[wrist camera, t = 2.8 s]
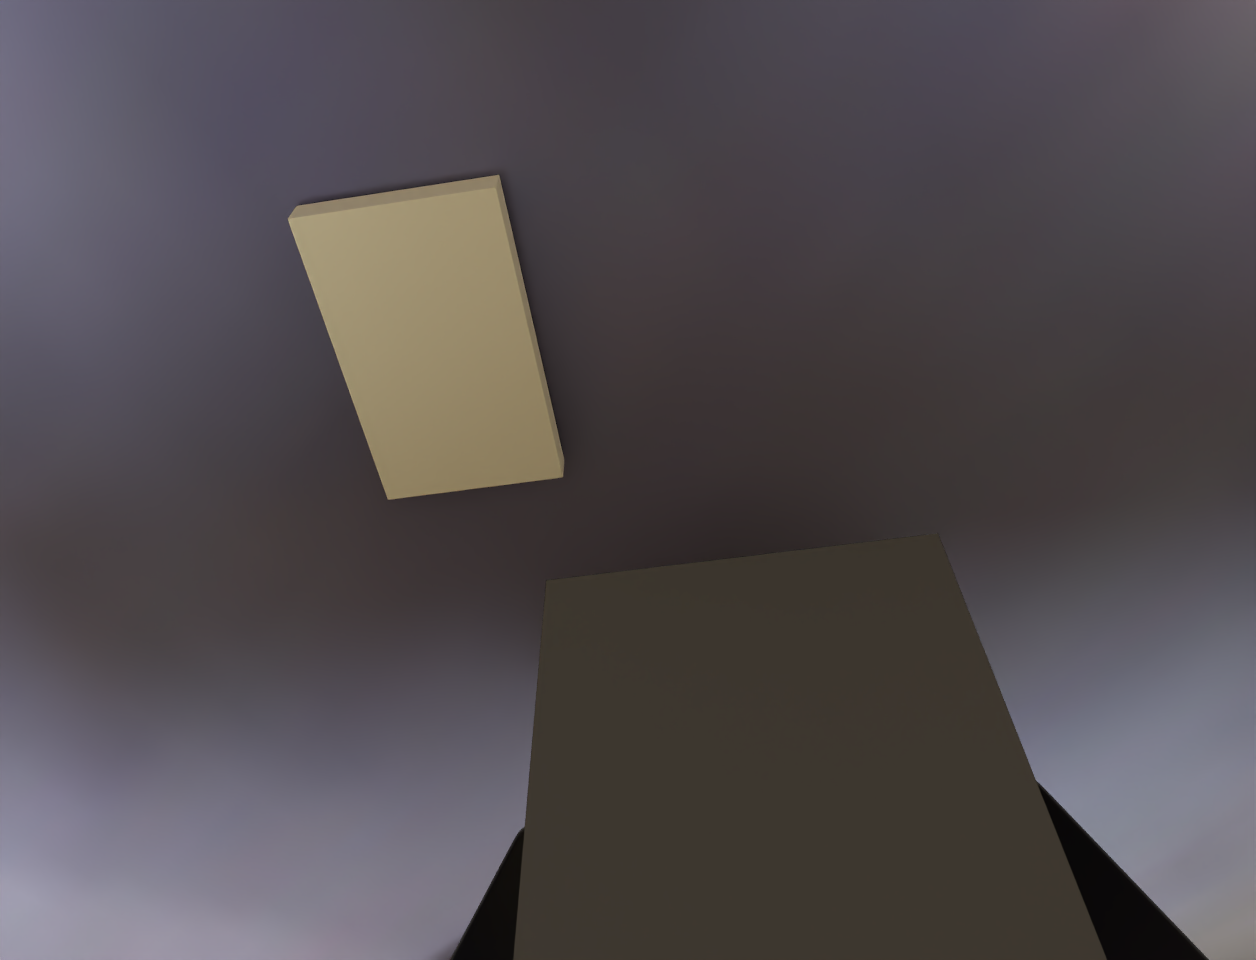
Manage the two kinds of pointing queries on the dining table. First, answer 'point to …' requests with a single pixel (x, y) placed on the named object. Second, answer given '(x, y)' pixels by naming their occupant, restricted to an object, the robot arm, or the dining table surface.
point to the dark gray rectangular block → (784, 771)
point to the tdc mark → (433, 335)
